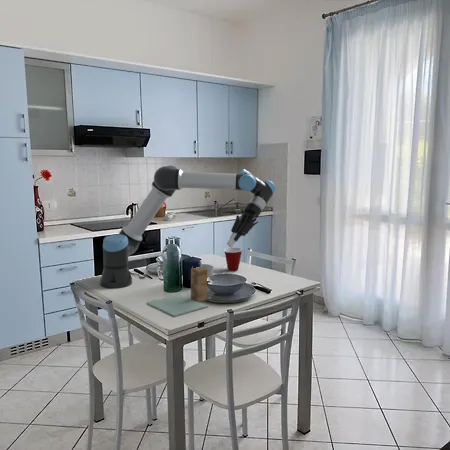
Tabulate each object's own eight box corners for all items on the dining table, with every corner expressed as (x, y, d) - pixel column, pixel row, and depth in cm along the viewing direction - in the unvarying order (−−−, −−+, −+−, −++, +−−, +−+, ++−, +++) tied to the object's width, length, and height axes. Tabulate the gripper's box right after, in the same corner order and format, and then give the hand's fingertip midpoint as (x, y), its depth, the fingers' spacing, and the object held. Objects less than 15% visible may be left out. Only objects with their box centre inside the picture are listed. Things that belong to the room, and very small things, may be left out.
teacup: (202, 277, 221) (202, 262, 220) (218, 281, 214) (218, 265, 213) (183, 282, 210) (183, 267, 209) (199, 287, 203) (199, 271, 202)
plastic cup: (220, 267, 240) (220, 247, 239) (238, 266, 244) (238, 246, 242) (226, 272, 230) (226, 251, 228) (244, 271, 233) (245, 250, 232)
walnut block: (190, 299, 186) (191, 268, 184) (199, 296, 189) (199, 266, 187) (197, 302, 182) (198, 270, 180) (206, 299, 186) (207, 268, 183)
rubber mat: (146, 303, 179) (146, 302, 179) (178, 295, 190) (178, 294, 190) (174, 317, 165) (174, 315, 164) (207, 307, 176) (207, 305, 176)
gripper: (268, 213, 201) (243, 252, 192) (248, 211, 210) (223, 248, 201) (261, 203, 196) (235, 242, 187) (241, 201, 206) (215, 238, 197)
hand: (229, 245), depth 194 cm, fingers closed
